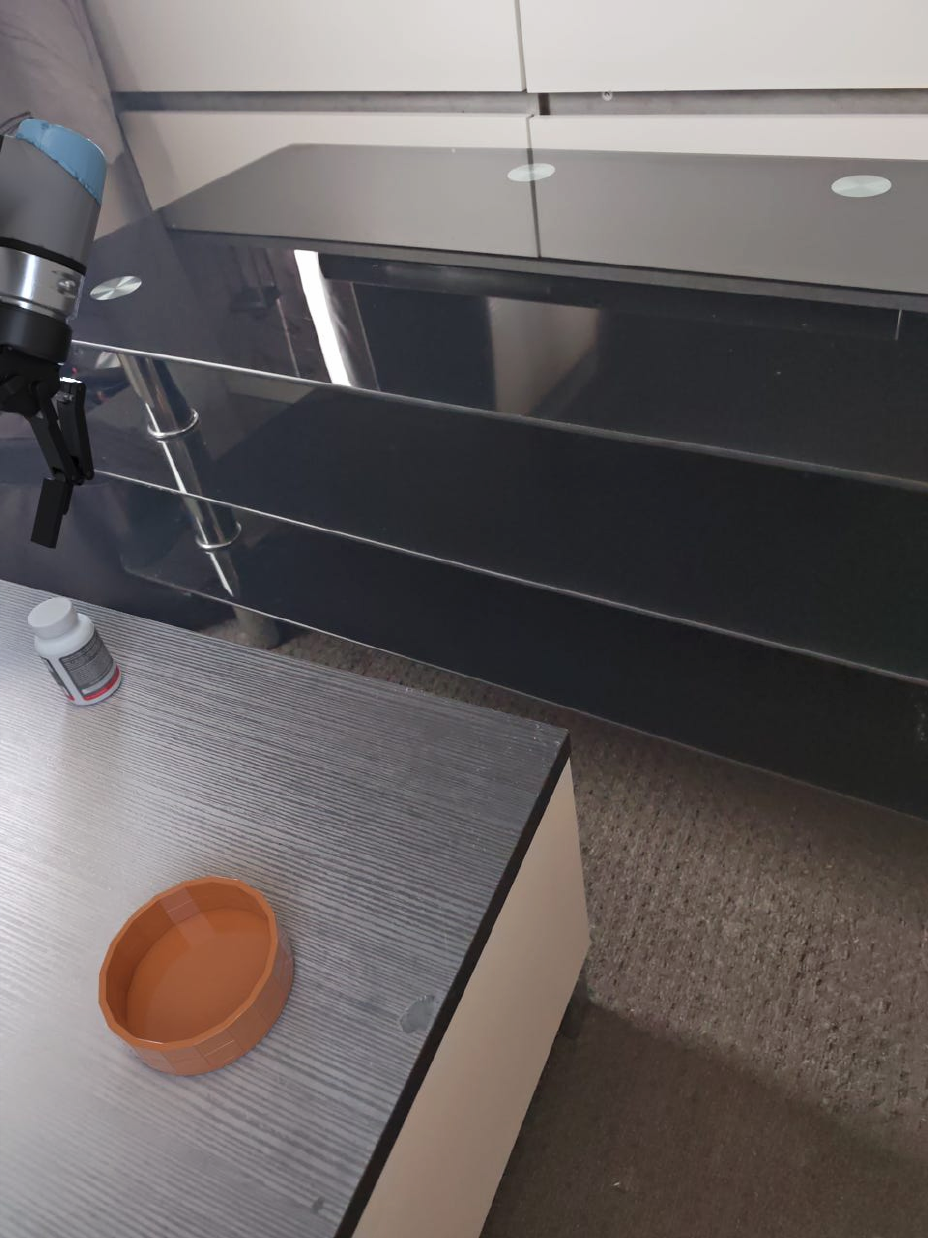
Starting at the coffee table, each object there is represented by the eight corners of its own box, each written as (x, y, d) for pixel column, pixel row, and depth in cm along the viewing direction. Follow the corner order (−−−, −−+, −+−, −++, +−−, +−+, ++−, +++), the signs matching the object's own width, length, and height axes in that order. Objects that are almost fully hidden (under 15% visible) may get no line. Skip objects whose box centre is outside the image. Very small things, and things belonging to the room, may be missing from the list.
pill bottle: (129, 663, 90) (87, 588, 83) (113, 704, 86) (67, 629, 79) (77, 669, 90) (31, 595, 84) (59, 710, 86) (9, 635, 80)
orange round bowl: (86, 1039, 62) (59, 1012, 59) (192, 886, 69) (173, 856, 67) (229, 1106, 57) (207, 1081, 54) (326, 934, 65) (311, 904, 62)
